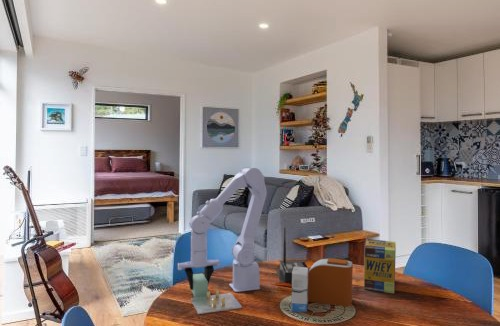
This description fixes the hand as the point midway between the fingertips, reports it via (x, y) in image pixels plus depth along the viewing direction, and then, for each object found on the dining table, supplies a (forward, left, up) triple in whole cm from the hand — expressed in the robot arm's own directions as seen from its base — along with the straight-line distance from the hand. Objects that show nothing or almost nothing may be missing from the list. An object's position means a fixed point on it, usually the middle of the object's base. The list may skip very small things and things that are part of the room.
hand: (198, 287), depth 131 cm
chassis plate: (-3, +12, -1) cm, 12 cm away
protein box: (-66, +15, -2) cm, 68 cm away
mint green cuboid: (0, 0, -1) cm, 1 cm away
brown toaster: (-40, +21, -2) cm, 45 cm away
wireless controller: (-41, -7, -2) cm, 42 cm away
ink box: (-28, +23, -2) cm, 36 cm away
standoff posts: (-3, +12, -1) cm, 12 cm away
